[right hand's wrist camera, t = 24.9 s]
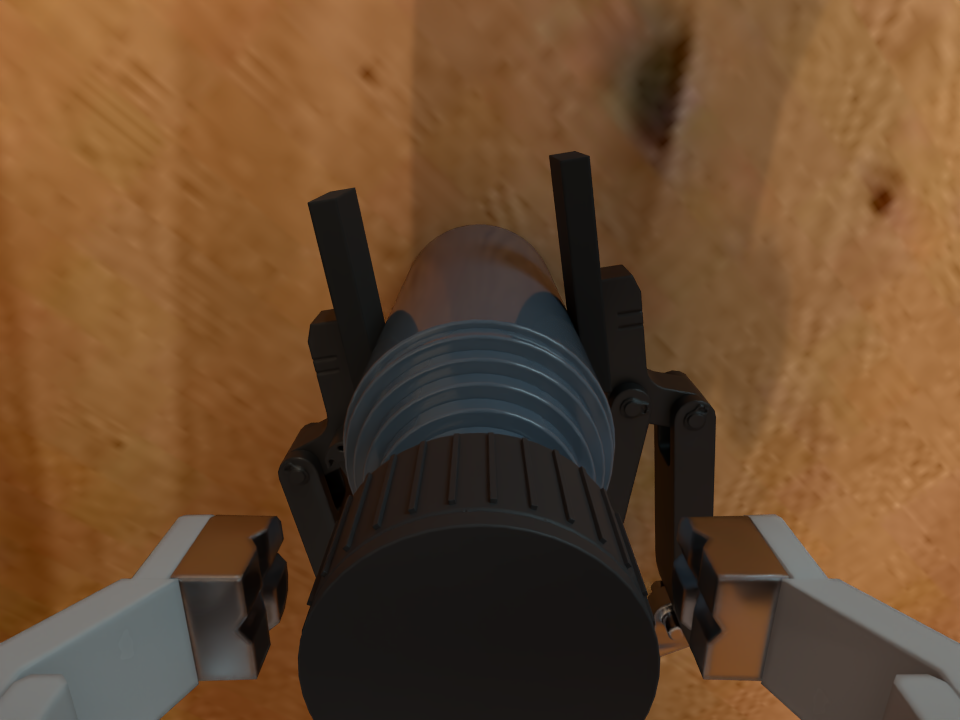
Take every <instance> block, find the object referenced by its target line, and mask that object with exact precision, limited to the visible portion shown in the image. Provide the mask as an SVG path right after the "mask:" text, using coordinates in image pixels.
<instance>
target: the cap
mask: <svg viewBox="0 0 960 720" xmlns="http://www.w3.org/2000/svg"><path fill="white" fill-rule="evenodd" d="M647 595H648V593H647V590H646V588H645V585H644V582H643V579H642V576H641V574H640V571H639V568H638V565H637V562H636V559H635V557H634V554H633V551H632V548H631V545H630V543H629V540H628V537H627V534H626V531H625V528H624V526H623V523H622V520H621V517H620V515H619V512H617V513H614V511H613V509H612V507H611V504H610V501H609V498H608V495H607V492H606V490H605V489H604V488H601V489H600V487H599V486H598V485H597V484H596V483H595V482H594V481H593V479H592V478H591V477H590V476H589V475H588V474H587V473H586V470H585V468H584V467H582V466H581V467H578V466H577V465H576V464H575V463H574V462H572V461H571V460H569V459H567V458H566V457H564V456H562V455H561V454H559V451H558V450H556V449H554V450H551V449H549V448H547V447H545V446H543V445H540V444H538V443H535V442H533V441H529V440H528V439H527V438H524V437H522V438H519V437H513V436H508V435H502V434H494V432H488V433H465V434H459V433H455V434H454V435H450V436H445V437H440V438H436V439H433V440H430V441H426V440H424V441H422V442H420V444H418V445H416V446H414V447H411V448H409V449H407V450H405V451H402V452H401V453H399V454H397V455H396V454H393V455H392V456H390V459H389V460H388V461H386V462H385V463H384V464H382V465H381V466H380V467H379V468H377V469H376V470H375V471H374V472H372V473H370V472H369V473H368V474H367V475H366V476H365V479H364V482H363V483H362V484H361V485H360V486H359V488H358V489H357V491H356V492H355V493H354V495H353V496H351V495H349V496H348V498H347V500H346V503H345V506H344V509H343V511H342V514H341V517H340V520H339V521H336V523H335V526H334V529H333V531H332V534H331V537H330V540H329V543H328V546H327V548H326V551H325V554H324V557H323V560H322V562H321V565H320V568H319V571H318V574H317V577H316V579H315V582H314V585H313V588H312V591H311V593H310V596H309V599H308V602H307V605H309V606H310V609H309V612H308V614H307V617H306V620H305V623H304V626H303V629H302V636H301V639H300V646H299V654H298V672H299V680H300V685H301V690H302V694H303V697H304V700H305V703H306V705H307V708H308V710H309V713H310V714H311V716H312V718H313V720H645V718H646V716H647V715H648V713H649V710H650V708H651V705H652V703H653V700H654V698H655V694H656V690H657V685H658V680H659V673H660V653H659V645H658V638H657V635H656V632H655V629H654V626H655V625H656V623H655V619H654V616H653V613H652V610H651V607H650V605H649V602H648V599H647Z"/></svg>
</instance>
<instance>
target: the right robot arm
mask: <svg viewBox="0 0 960 720" xmlns="http://www.w3.org/2000/svg"><path fill="white" fill-rule="evenodd" d="M283 539H284V538H283V531H282V525H281V521H280V520H279V518H278V517H277V516H248V515H184V516H181V517H179V518H178V519H177V520H176V521H175V523H174V524H173V525H172V526H171V528H170V529H169V530H168V532H167V533H166V534H165V536H164V537H163V538H162V540H161V541H160V542H159V543H158V545H157V546H156V547H155V549H154V550H153V551H152V553H151V554H150V555H149V556H148V558H147V559H146V560H145V562H144V563H143V564H142V566H141V567H140V568H139V570H138V571H137V572H136V573H135V575H134V576H133V577H132V579H120V580H118V581H116V582H115V583H113V584H111V585H109V586H107V587H105V588H103V589H101V590H100V591H98V592H96V593H94V594H92V595H90V596H88V597H86V598H85V599H83V600H81V601H79V602H77V603H75V604H73V605H71V606H69V607H68V608H66V609H64V610H62V611H60V612H58V613H56V614H54V615H53V616H51V617H49V618H47V619H45V620H43V621H41V622H39V623H38V624H36V625H34V626H32V627H30V628H28V629H26V630H24V631H23V632H21V633H19V634H17V635H15V636H13V637H11V638H9V639H8V640H6V641H4V642H2V643H0V720H159V719H160V718H161V717H163V716H164V715H165V714H166V713H167V712H168V711H169V710H170V709H171V708H173V707H174V706H175V705H176V704H177V703H178V702H179V701H180V700H181V699H183V698H184V697H185V696H186V695H187V694H188V693H189V692H190V691H191V690H193V689H194V688H195V687H196V686H197V685H198V681H210V680H245V679H257V677H258V674H259V672H260V670H261V667H262V665H263V662H264V660H265V657H266V655H267V652H268V650H269V647H270V645H271V643H270V636H269V630H270V629H272V628H273V627H274V626H276V625H277V624H278V623H279V622H280V620H281V617H282V614H283V612H284V609H285V604H286V598H287V593H288V570H287V562H286V561H285V560H284V559H283V558H282V557H281V556H280V555H279V554H278V550H279V548H280V546H281V544H282V542H283ZM676 540H677V542H678V544H679V546H680V548H681V551H682V554H681V555H680V556H679V557H678V558H677V559H676V560H675V561H674V562H673V571H672V592H673V600H674V604H675V609H676V612H677V615H678V617H679V620H680V623H682V624H683V625H684V626H686V627H687V628H688V629H690V630H691V635H690V643H689V645H690V648H691V650H692V652H693V655H694V657H695V660H696V662H697V665H698V667H699V670H700V672H701V674H702V677H703V679H713V680H749V681H762V682H761V684H762V685H763V686H764V687H766V688H767V689H768V690H769V691H770V692H771V693H772V694H773V695H774V696H776V697H777V698H778V699H779V700H780V701H781V702H782V703H783V704H784V705H785V706H787V707H788V708H789V709H790V710H791V711H792V712H793V713H794V714H795V715H797V716H798V717H799V718H800V719H801V720H960V643H958V642H956V641H954V640H952V639H950V638H948V637H946V636H945V635H943V634H941V633H939V632H937V631H935V630H933V629H931V628H930V627H928V626H926V625H924V624H922V623H920V622H918V621H916V620H915V619H913V618H911V617H909V616H907V615H905V614H903V613H902V612H900V611H898V610H896V609H894V608H892V607H890V606H888V605H887V604H885V603H883V602H881V601H879V600H877V599H875V598H873V597H872V596H870V595H868V594H866V593H864V592H862V591H860V590H858V589H857V588H855V587H853V586H851V585H849V584H847V583H845V582H843V581H842V580H840V579H828V577H827V576H826V575H825V574H824V572H823V571H822V570H821V568H820V567H819V566H818V564H817V563H816V562H815V561H814V559H813V558H812V557H811V555H810V554H809V553H808V552H807V550H806V549H805V548H804V546H803V545H802V544H801V542H800V541H799V540H798V539H797V537H796V536H795V535H794V533H793V532H792V531H791V529H790V528H789V527H788V526H787V524H786V523H785V522H784V520H783V519H782V518H781V517H779V516H777V515H775V514H768V515H744V516H709V517H681V519H680V522H679V524H678V530H677V537H676Z"/></svg>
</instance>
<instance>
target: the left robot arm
mask: <svg viewBox="0 0 960 720" xmlns="http://www.w3.org/2000/svg"><path fill="white" fill-rule="evenodd" d="M549 159H550V168H551V176H552V185H553V193H554V202H555V211H556V219H557V228H558V237H559V245H560V254H561V262H562V271H563V280H564V288H565V297H566V306H567V312H568V314H569V316H570V319H571V321H572V323H573V325H574V327H575V330H576V332H577V334H578V336H579V338H580V340H581V343H582V345H583V347H584V349H585V351H586V354H587V356H588V358H589V360H590V362H591V365H592V367H593V369H594V371H595V373H596V376H597V378H598V380H599V382H600V384H601V386H602V389H603V391H604V393H605V395H606V397H607V400H608V403H609V406H610V409H611V412H612V417H613V422H614V427H615V453H614V461H613V469H612V475H611V479H610V483H609V487H608V489H607V495H608V498H609V501H610V504H611V507H612V509H613V511H614V513H617V512H619V515H620V517H621V520H622V523H624V519H625V515H626V511H627V507H628V503H629V499H630V496H631V492H632V488H633V484H634V480H635V476H636V472H637V468H638V464H639V460H640V456H641V452H642V448H643V444H644V441H645V437H646V433H647V429H648V425H649V424H654V456H655V553H656V562H657V567H658V571H659V574H660V576H661V579H662V581H661V580H660V581H656V582H654V583H653V584H652V585H651V590H652V593H650V595H649V597H648V602H649V605H650V607H651V610H652V613H653V616H654V619H655V623H656V625H655V626H654V629H655V632H656V635H657V638H658V645H659V653H660V657H661V656H664V655H667V654H670V653H672V652H675V651H678V650H681V649H683V648H686V647H689V646H690V645H689V643H690V635H691V630H690V629H688V628H687V627H686V626H684V625H683V624H682V623H680V620H679V617H678V615H677V612H676V609H675V604H674V600H673V592H672V571H673V562H674V561H675V560H676V559H677V558H678V557H679V556H680V555H681V554H682V551H681V548H680V546H679V544H678V542H677V540H676V537H677V530H678V524H679V522H680V519H681V517H709V516H713V502H714V466H715V430H716V416H715V411H714V409H713V408H712V407H711V405H710V404H709V403H708V402H707V400H706V399H705V398H704V396H703V395H702V394H701V393H700V391H699V390H698V389H697V388H696V386H695V385H694V384H693V383H692V381H690V379H689V378H688V377H687V376H686V374H684V373H682V372H680V371H669V372H665V373H660V372H655V371H651V370H648V369H647V368H646V354H645V341H644V327H643V314H642V300H641V291H640V289H639V287H638V285H637V283H636V281H635V279H634V277H633V275H632V274H631V273H630V272H629V271H628V270H627V269H626V268H625V267H624V266H623V265H615V266H609V267H603V268H600V261H599V250H598V240H597V229H596V219H595V208H594V198H593V187H592V177H591V166H590V156H588V155H585V154H582V153H579V152H576V151H573V152H567V153H561V154H554V155H549ZM308 207H309V211H310V215H311V219H312V223H313V227H314V231H315V235H316V239H317V243H318V247H319V251H320V255H321V259H322V263H323V267H324V271H325V275H326V279H327V284H328V288H329V292H330V296H331V300H332V304H333V308H334V309H331V310H324V311H321V312H320V313H319V315H318V316H317V317H316V318H315V319H314V321H313V322H312V323H311V324H310V330H309V337H308V345H309V348H310V352H311V356H312V359H313V363H314V367H315V371H316V373H317V378H318V382H319V386H320V390H321V393H322V397H323V401H324V405H325V408H326V412H327V419H325V420H323V421H321V422H319V423H310V424H307V425H305V426H304V427H303V428H302V429H301V430H300V432H299V434H298V436H297V437H296V439H295V441H294V442H293V444H292V446H291V448H290V449H289V451H288V453H287V455H286V456H285V458H284V460H283V462H282V463H281V465H280V468H279V471H278V475H279V480H280V483H281V485H282V488H283V491H284V493H285V496H286V499H287V501H288V504H289V507H290V509H291V512H292V515H293V517H294V520H295V523H296V525H297V528H298V531H299V533H300V536H301V539H302V542H303V544H304V547H305V550H306V552H307V555H308V558H309V560H310V563H311V566H312V568H313V571H314V574H315V576H316V577H317V574H318V571H319V568H320V565H321V562H322V560H323V557H324V554H325V551H326V548H327V546H328V543H329V540H330V537H331V534H332V531H333V529H334V526H335V523H336V521H339V520H340V517H341V514H342V511H343V509H344V506H345V503H346V500H347V498H348V496H349V495H351V496H353V494H352V491H351V488H350V486H349V483H348V478H347V473H346V469H345V459H344V452H343V431H344V422H345V418H346V414H347V410H348V406H349V404H350V401H351V399H352V396H353V394H354V391H355V389H356V387H357V385H358V383H359V381H360V378H361V376H362V374H363V372H364V370H365V367H366V365H367V363H368V361H369V359H370V356H371V354H372V352H373V350H374V348H375V345H376V343H377V341H378V339H379V337H380V335H381V332H382V330H383V328H384V326H385V321H384V317H383V312H382V308H381V303H380V299H379V294H378V290H377V285H376V281H375V276H374V271H373V267H372V262H371V258H370V253H369V249H368V244H367V240H366V235H365V231H364V226H363V222H362V217H361V212H360V208H359V203H358V199H357V194H356V190H355V188H350V189H344V190H337V191H331V192H329V193H327V194H325V195H322V196H320V197H318V198H316V199H314V200H312V201H310V202H308ZM690 649H691V648H690ZM691 651H692V650H691ZM692 653H693V652H692Z"/></svg>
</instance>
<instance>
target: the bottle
mask: <svg viewBox="0 0 960 720" xmlns="http://www.w3.org/2000/svg"><path fill="white" fill-rule="evenodd" d="M488 432H494V434H502V435H508V436H513V437H519V438H522V437H524V438H527V439H528V440H529V441H533V442H535V443H538V444H540V445H543V446H545V447H547V448H549V449H551V450H554V449H556V450H558V451H559V454H561V455H562V456H564V457H566V458H567V459H569V460H571V461H572V462H574V463H575V464H576V465H577V466H578V467H581V466H582V467H584V468H585V470H586V473H587V474H588V475H589V476H590V477H591V478H592V479H593V481H594V482H595V483H596V484H597V485H598V486H599V487H600V489H601V488H604V489H605V490H606V492H607V489H608V487H609V483H610V479H611V475H612V469H613V461H614V453H615V427H614V422H613V417H612V412H611V409H610V406H609V403H608V400H607V397H606V395H605V393H604V391H603V389H602V386H601V384H600V382H599V380H598V378H597V376H596V373H595V371H594V369H593V367H592V365H591V362H590V360H589V358H588V356H587V354H586V351H585V349H584V347H583V345H582V343H581V340H580V338H579V336H578V334H577V332H576V330H575V327H574V325H573V323H572V321H571V319H570V316H569V314H568V312H567V310H566V308H565V305H564V303H563V301H562V299H561V297H560V294H559V292H558V290H557V288H556V286H555V284H554V281H553V279H552V277H551V275H550V273H549V270H548V268H547V266H546V264H545V262H544V260H543V259H542V258H541V256H540V255H539V253H538V252H537V251H536V250H535V249H534V248H533V247H532V245H530V244H529V243H528V242H527V241H526V240H524V239H523V238H522V237H520V236H518V235H517V234H515V233H513V232H511V231H508V230H506V229H503V228H500V227H496V226H490V225H467V226H462V227H458V228H455V229H452V230H450V231H447V232H445V233H443V234H442V235H440V236H438V237H437V238H435V239H434V240H433V241H431V242H430V243H429V244H428V245H427V246H426V247H425V248H424V249H423V250H422V251H421V252H420V254H419V255H418V256H417V258H416V260H415V261H414V263H413V265H412V267H411V269H410V271H409V273H408V275H407V278H406V280H405V282H404V284H403V286H402V289H401V291H400V293H399V295H398V297H397V299H396V302H395V304H394V306H393V308H392V310H391V313H390V315H389V317H388V319H387V321H386V324H385V326H384V328H383V330H382V332H381V335H380V337H379V339H378V341H377V343H376V345H375V348H374V350H373V352H372V354H371V356H370V359H369V361H368V363H367V365H366V367H365V370H364V372H363V374H362V376H361V378H360V381H359V383H358V385H357V387H356V389H355V391H354V394H353V396H352V399H351V401H350V404H349V406H348V410H347V414H346V418H345V422H344V431H343V452H344V459H345V469H346V473H347V478H348V483H349V486H350V488H351V491H352V494H353V495H354V493H355V492H356V491H357V489H358V488H359V486H360V485H361V484H362V483H363V482H364V479H365V476H366V475H367V474H368V473H369V472H370V473H372V472H374V471H375V470H376V469H377V468H379V467H380V466H381V465H382V464H384V463H385V462H386V461H388V460H389V459H390V456H392V455H393V454H396V455H397V454H399V453H401V452H402V451H405V450H407V449H409V448H411V447H414V446H416V445H418V444H420V442H422V441H424V440H426V441H430V440H433V439H436V438H440V437H445V436H450V435H454V434H455V433H459V434H465V433H488Z"/></svg>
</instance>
